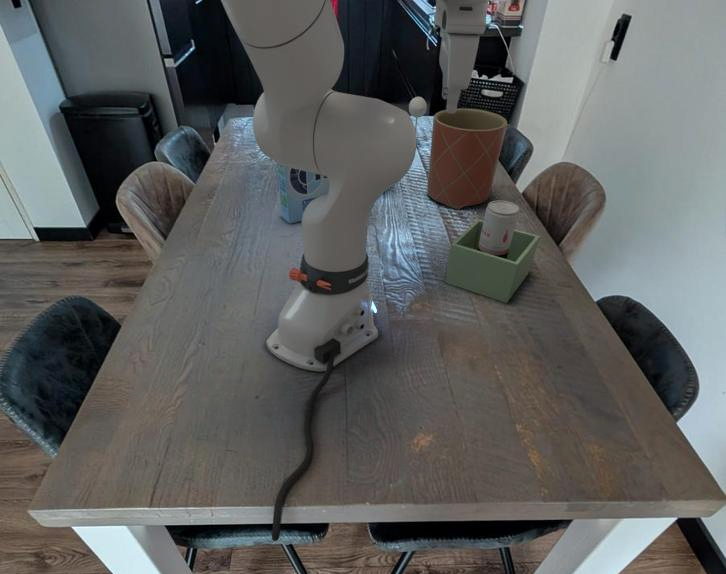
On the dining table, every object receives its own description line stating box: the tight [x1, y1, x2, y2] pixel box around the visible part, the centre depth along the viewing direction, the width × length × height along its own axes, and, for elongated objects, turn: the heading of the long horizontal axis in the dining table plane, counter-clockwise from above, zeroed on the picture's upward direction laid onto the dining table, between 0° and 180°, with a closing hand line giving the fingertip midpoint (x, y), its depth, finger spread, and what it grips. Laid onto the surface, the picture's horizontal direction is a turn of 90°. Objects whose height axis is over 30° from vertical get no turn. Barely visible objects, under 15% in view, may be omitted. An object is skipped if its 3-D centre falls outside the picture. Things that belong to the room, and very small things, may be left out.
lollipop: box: [408, 96, 428, 132], centre depth 161 cm, size 6×6×15 cm
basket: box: [444, 218, 541, 304], centre depth 104 cm, size 15×15×9 cm
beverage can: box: [477, 200, 520, 259], centre depth 102 cm, size 6×7×15 cm
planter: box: [426, 108, 508, 210], centre depth 131 cm, size 19×19×20 cm
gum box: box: [275, 161, 329, 225], centre depth 120 cm, size 20×5×23 cm, turn 123°
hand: (448, 105), depth 92 cm, fingers open, 8 cm apart
